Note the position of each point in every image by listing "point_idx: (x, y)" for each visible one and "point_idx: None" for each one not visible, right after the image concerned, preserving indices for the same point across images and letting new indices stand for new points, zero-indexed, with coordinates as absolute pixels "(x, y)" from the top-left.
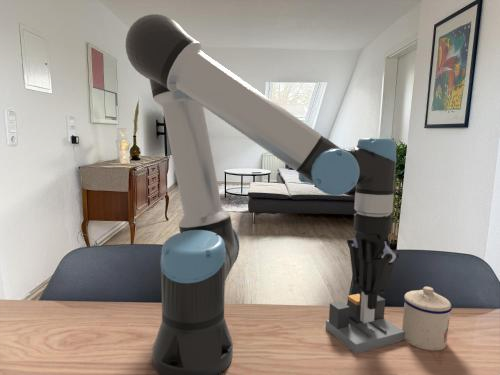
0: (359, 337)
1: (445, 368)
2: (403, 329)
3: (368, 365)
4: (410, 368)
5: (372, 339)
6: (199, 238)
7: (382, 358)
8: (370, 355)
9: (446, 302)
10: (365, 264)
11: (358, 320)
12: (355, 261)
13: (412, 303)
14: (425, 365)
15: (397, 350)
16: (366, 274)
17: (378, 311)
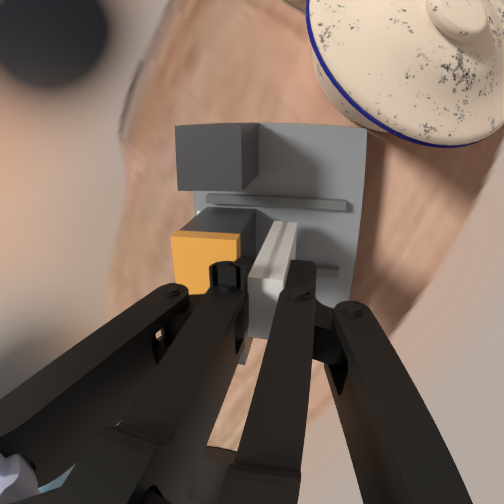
0: (323, 298)
1: (491, 152)
2: (353, 119)
3: (388, 314)
4: (451, 234)
5: (350, 272)
6: None
7: (391, 265)
8: (366, 283)
9: (497, 4)
10: (196, 454)
11: (253, 248)
12: (109, 423)
13: (435, 142)
14: (464, 187)
15: (389, 196)
16: (219, 384)
17: (252, 156)
